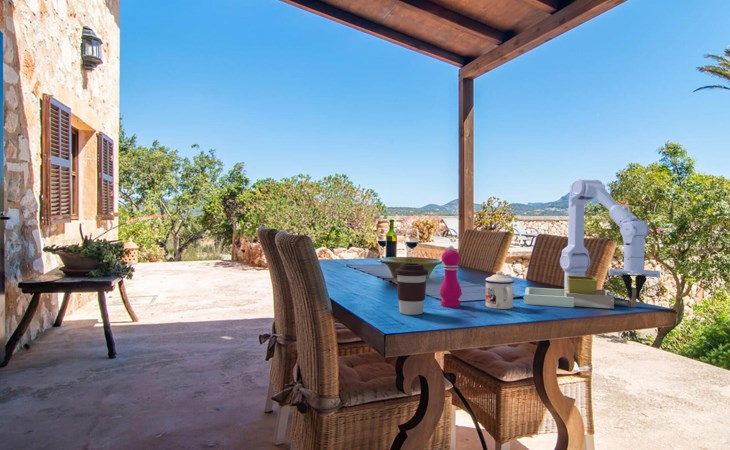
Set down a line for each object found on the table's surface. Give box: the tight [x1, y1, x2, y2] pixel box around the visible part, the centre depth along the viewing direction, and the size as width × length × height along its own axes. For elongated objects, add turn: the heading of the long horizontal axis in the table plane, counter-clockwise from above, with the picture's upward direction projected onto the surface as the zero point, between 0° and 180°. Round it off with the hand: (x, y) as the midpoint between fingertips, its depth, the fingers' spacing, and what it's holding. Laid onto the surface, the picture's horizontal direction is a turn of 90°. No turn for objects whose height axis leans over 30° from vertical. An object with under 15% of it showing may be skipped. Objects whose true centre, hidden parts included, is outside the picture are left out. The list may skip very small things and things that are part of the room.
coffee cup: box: [394, 262, 429, 316], centre depth 139 cm, size 10×10×15 cm
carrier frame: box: [563, 286, 637, 309], centre depth 154 cm, size 14×21×6 cm, turn 69°
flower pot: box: [567, 275, 598, 295], centre depth 154 cm, size 9×9×9 cm
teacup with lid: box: [484, 270, 515, 310], centre depth 148 cm, size 12×9×12 cm
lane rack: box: [523, 286, 575, 308], centre depth 159 cm, size 17×15×3 cm
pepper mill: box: [439, 245, 462, 308], centre depth 151 cm, size 7×7×20 cm
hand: (633, 298), depth 150 cm, fingers closed
